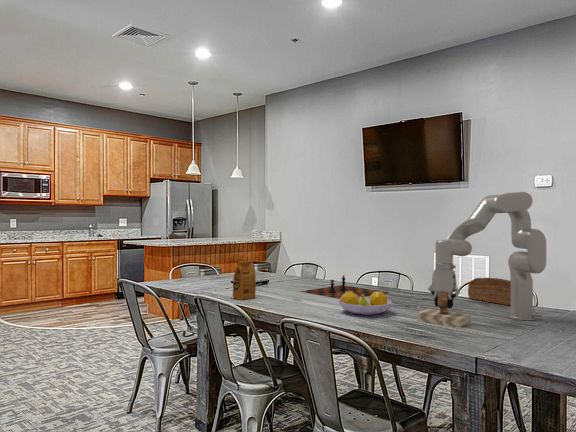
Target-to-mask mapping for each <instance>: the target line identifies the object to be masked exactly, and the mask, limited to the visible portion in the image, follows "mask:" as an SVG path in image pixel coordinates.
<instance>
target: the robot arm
mask: <svg viewBox="0 0 576 432" xmlns="http://www.w3.org/2000/svg"><path fill="white" fill-rule="evenodd" d="M533 203H534V201H533V197H532V195H531V194H530V193H528V192H527V191H517V192H506V193H505V192H504V193H502V194H493V195H492V194H491V195H486V196H485V197H483V198H482V199H481V201H480V202H479V203H478V205H477V206H476V207H475V209H474V210H473V211H472V212H471V214H470V215H469V217H468V218H467V219H466V220H464V221H463V222H462V223H460V224H459V225H458V226H457V227H455V228H454V229H453V230H452V231H451V232H450V233H449V235H448V236H447V238H446V239H437V240H436V242H435V254H434V255H435V257H434V258H435V259H434V260H435V266H434V267H435V268H434V270H433V273H432V277H431V278H432V279H431V284H430V286H429V287H428V288H427V290H428V291H429V292H430V294H431V295H432V297H433V298H434V306H435V307H438V306H437V305H438V291H441V292H446V293H448V297H449V299H448V308H447V309H452V308H453V307H454V299H455V298H456V297H457V296H458V295H460V294H461V291H460V290H459V288H458V286H457V284H458V283H457V275H456V272H455V271H456V270H454V269H456V264H454V256H458V257H466V256H468V255H470V254H471V253H472V250H473V246H472V244H471V243H470V242H469V241H467V238H469V237H470V236H473V235H475V234H478V233H479V232H482V231H484V230H485V229H486V228H487V226H488V225H489V223H490V222H491V221H492V219H493V218H494V216H495V215H496V214H508V216H509V218H510V223H511V225H510V226H511V228H510V234H511V236H510V237H511V239H510V240H511V244H512V245H513V247H514V248H516V249H524V250H526V251H524V250H523V251H521V250H518V251H514V252H512V253H510V255H509V256H508V259H507V263H508V264H507V265H508V268H509V274H510V281H511V306H510V313H507V314H506V317H507V318H508V319H512V320H516V321H536V320H537V317H539V318H543V316H544V315H543V314H544V313H543V312H540V311H539V312H538V311H536V309H535V308H534V306H533V305H534V303H533V302H534V299H533V297H534V295H533V294H534V279H533V276H532V274H541V273H542V272H543V271H545V269H546V266H547V239H546V235H545V234H544V233H543V231H541V230H540V229H537V228H532V220H531V215H530V212H529V211H528V210H529V209H530V208H531V207H532V205H533Z"/></svg>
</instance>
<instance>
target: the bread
mask: <svg viewBox="0 0 576 432" xmlns="http://www.w3.org/2000/svg"><path fill="white" fill-rule="evenodd" d="M467 286H468V287H467V296H468V298H469V299H470V298H471V299H470V300H474V301H481V302H487V303H493V304H494V303H495V304H500V305H504V306H510V305H511V280H508V279H504V278H498V277H477V278H474V279H472V280H471V281H470V282H469V283H468V285H467ZM477 299H478V300H477ZM482 300H483V301H482Z"/></svg>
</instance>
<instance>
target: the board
mask: <svg viewBox="0 0 576 432" xmlns="http://www.w3.org/2000/svg"><path fill="white" fill-rule="evenodd" d="M416 312H417V315H416V316H417V317H416V318H417V319H416V321H417V322H421V321H422V322H421V323H427V322H428V323H429V324H433V323H435V324H434V325H439V324H440V325H441V326H444V325H447V326H446V327H450V326H453V327H452V328H456V327H458V329H460V327H461V328H463V326H464V327H466V326H468V324H469V325H471V324H472V314H468V313H461V312H455V311H448V310H447V315H444V314H440V309H434V308H426V309H424V310H420V311H416ZM470 323H471V324H470ZM440 325H439V326H440ZM465 325H466V326H465Z"/></svg>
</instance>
